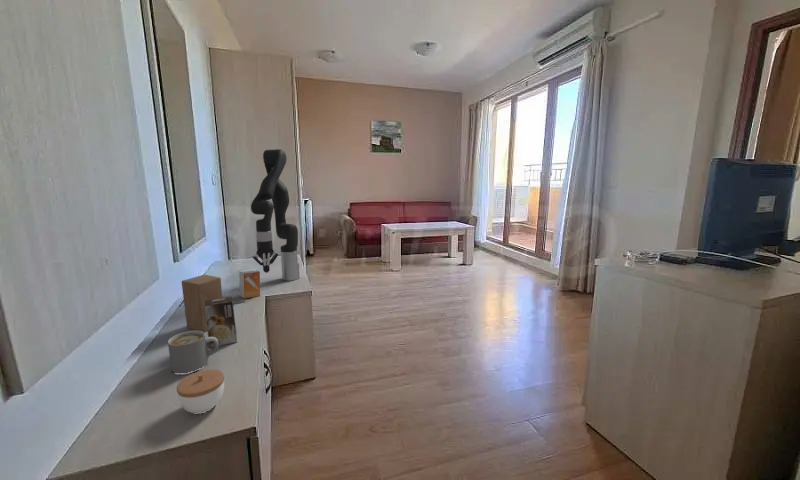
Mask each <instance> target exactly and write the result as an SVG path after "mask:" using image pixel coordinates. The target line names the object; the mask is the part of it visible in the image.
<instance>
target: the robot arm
mask: <svg viewBox="0 0 800 480" xmlns="http://www.w3.org/2000/svg"><path fill="white" fill-rule="evenodd" d="M262 157H263V158H262V160H263V164H264V167H265V171H266V174H267V175H266V176H265V177H264V178H263V179H262V181H261V184H260V186H259V187H260V188H259V190H258V193H257V194H256V195H255V197H254V199H253V200H252V202H251V204H250V210H251V213H253V214H254V215H257V216H258V215H259V216H260V215H263V218H260V219H257V220H256V221H255V230H256V233H255V237H256V240H255V241H256V252H255V254H254V255H252V259H253V260H254V261H255V262H256V263H257V264H259V265H260V266H262V271H263V272H264V273H266V274H267V273H269V272H270V270H271V269H270V265H273V263H274V262H275V261H276V259H277V257H278V256H279V254H278V253H277V252H275V249H273V246H274V245H273V234H272V218H273V215H274V221H275V232H276V235H277V238H279V239H281V240H285V241H286V243H285V244H283V245H281V246H280V260H281V261H280V262H281V263H280V264H281V277H282V280H283V281H286V282H287V281H295V280H298V279H301V278H300V277H301V276H300V263H299V262H298V260H299V259H298V245H299V231H298V227H297V226H296V225H295V224H292V223H287V221H286V220H287V219H286V212H287V209H288V208H289V204H290V195H289V190H288V188H287V187H286V185H285V184H284V182H283V181H282V180H281V179H280V177H281V175H282V173H283V171H284V168H285V167H286V164H287V160H288V159H287V154H286V152H285V151H284V150H283V149H279V148H277V149H275V148H274V149H265V150H264V151H263V153H262ZM270 200H271V201H270ZM273 213H274V214H273ZM259 258H260V259H261V261H260V259H259Z"/></svg>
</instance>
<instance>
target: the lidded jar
mask: <svg viewBox="0 0 800 480" xmlns="http://www.w3.org/2000/svg"><path fill="white" fill-rule="evenodd" d="M224 391H225V374H224V372H223V371H222V370H220V369H215V368H214V369H201V370H199V371H197V372H195V373H192V374H188V375H186V376H185V377H184V378H182V379H181V380H180V381H179V382H178V383H177V385H176V393H177V398H178V402H179V405H180V406H181V407H182V408H183V410H185V411H186V412H188V413H190V412H191V413H190V414H192V413H199V412H204V411H207V410H209V409H211V408H213V407H214V406H215V405H216V406H217V405H218V404H219V402H220V401H221V400H222V398H223V395H224Z"/></svg>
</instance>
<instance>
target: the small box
mask: <svg viewBox="0 0 800 480" xmlns="http://www.w3.org/2000/svg"><path fill="white" fill-rule="evenodd" d="M238 273H239V275H238V277H239V295H240V296H241V297H242V298H243V299H244V300H245V299H249V298H254V297H260V296H261V272H260V270H258V269H256V268H253V269H245V270H240V271H239V272H238Z"/></svg>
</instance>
